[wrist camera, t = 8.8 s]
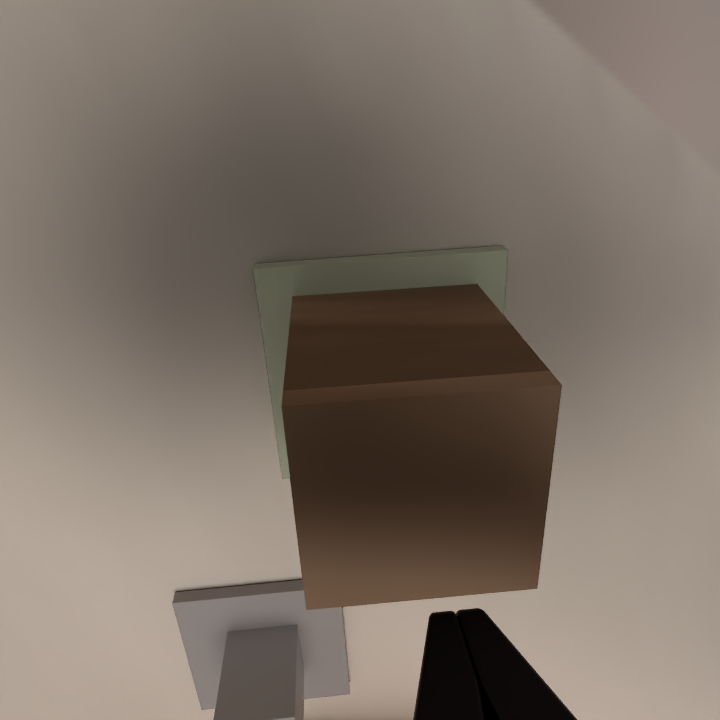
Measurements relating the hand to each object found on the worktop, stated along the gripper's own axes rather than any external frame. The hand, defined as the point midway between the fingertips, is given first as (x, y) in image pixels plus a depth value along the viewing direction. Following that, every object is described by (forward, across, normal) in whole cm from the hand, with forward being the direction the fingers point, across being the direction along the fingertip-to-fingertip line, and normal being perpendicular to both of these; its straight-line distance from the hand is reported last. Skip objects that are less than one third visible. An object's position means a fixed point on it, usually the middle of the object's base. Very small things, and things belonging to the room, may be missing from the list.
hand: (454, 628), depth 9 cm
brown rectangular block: (+9, 0, 0) cm, 9 cm away
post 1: (+10, +5, +12) cm, 16 cm away
